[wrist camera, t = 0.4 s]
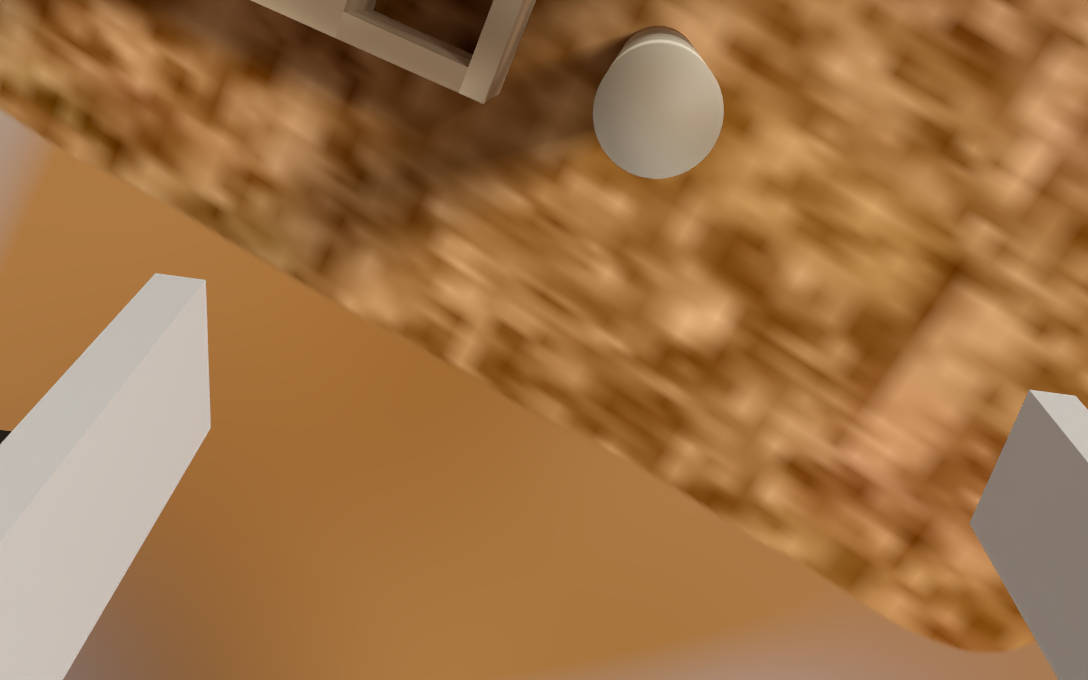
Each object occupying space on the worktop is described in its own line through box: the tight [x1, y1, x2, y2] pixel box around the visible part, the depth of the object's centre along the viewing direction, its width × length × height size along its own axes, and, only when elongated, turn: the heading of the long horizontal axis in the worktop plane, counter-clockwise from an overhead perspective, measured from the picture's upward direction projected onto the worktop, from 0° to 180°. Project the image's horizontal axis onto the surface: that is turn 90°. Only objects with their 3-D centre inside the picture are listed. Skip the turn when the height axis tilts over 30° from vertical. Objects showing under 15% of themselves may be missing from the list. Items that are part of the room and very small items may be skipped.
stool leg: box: [593, 26, 724, 179], centre depth 31 cm, size 3×3×16 cm
